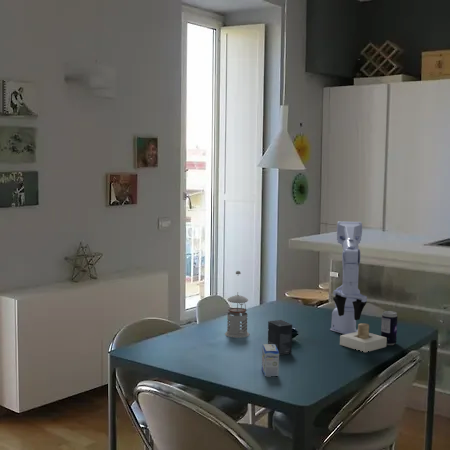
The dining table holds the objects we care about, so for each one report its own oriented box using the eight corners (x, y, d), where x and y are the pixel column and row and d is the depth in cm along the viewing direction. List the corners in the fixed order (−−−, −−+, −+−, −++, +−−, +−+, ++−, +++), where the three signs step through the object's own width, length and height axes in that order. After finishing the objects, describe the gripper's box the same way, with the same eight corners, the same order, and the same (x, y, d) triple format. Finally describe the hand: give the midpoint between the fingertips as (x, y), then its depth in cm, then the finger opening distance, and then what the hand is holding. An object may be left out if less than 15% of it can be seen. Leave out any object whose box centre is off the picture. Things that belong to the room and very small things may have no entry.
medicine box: (261, 369, 230) (262, 343, 229) (274, 369, 231) (275, 343, 230) (264, 377, 222) (265, 350, 221) (278, 377, 223) (279, 350, 222)
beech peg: (355, 345, 260) (355, 324, 259) (362, 343, 262) (363, 322, 261) (363, 348, 256) (363, 326, 255) (370, 346, 259) (371, 325, 258)
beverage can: (396, 346, 259) (397, 314, 257) (380, 345, 260) (382, 313, 259) (396, 342, 264) (397, 311, 263) (380, 341, 266) (382, 310, 264)
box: (291, 353, 248) (292, 324, 247) (278, 355, 246) (278, 325, 245) (280, 347, 255) (281, 319, 254) (267, 349, 253) (267, 320, 252)
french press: (220, 335, 270) (221, 271, 267) (231, 328, 281) (232, 267, 278) (244, 338, 266) (245, 274, 263) (254, 331, 277) (256, 269, 274)
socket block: (339, 344, 260) (340, 335, 260) (361, 339, 267) (361, 330, 267) (364, 352, 251) (365, 342, 250) (386, 346, 258) (386, 337, 258)
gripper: (328, 279, 261) (327, 315, 262) (358, 286, 250) (357, 323, 251) (340, 277, 265) (339, 312, 267) (371, 283, 254) (369, 320, 256)
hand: (349, 317), depth 259 cm, fingers open, 7 cm apart
